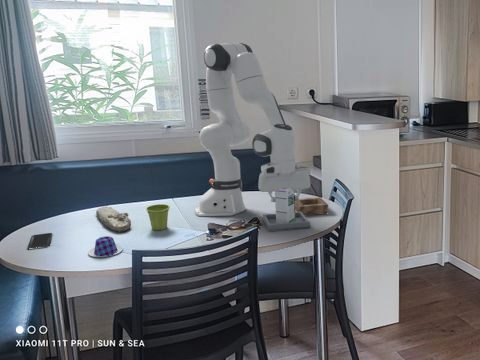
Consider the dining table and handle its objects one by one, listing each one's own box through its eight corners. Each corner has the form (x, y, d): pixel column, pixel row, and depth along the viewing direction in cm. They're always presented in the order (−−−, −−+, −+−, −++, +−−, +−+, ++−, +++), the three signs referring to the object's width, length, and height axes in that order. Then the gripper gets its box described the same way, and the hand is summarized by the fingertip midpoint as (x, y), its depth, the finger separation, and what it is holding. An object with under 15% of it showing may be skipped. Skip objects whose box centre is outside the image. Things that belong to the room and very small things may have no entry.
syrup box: (288, 225, 189) (287, 189, 186) (275, 223, 193) (274, 187, 189) (295, 221, 194) (294, 186, 190) (282, 219, 197) (281, 184, 194)
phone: (27, 248, 179) (31, 235, 193) (27, 250, 179) (32, 237, 193) (49, 244, 181) (52, 232, 195) (50, 247, 181) (53, 235, 195)
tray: (268, 231, 186) (268, 225, 185) (262, 220, 200) (262, 214, 199) (309, 228, 188) (309, 221, 187) (301, 217, 201) (301, 211, 201)
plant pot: (176, 226, 198) (174, 205, 196) (160, 233, 190) (158, 212, 188) (159, 223, 203) (157, 203, 201) (142, 229, 195) (140, 209, 193)
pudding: (109, 244, 182) (107, 230, 180) (130, 250, 174) (128, 236, 173) (81, 254, 172) (79, 240, 171) (102, 261, 165) (100, 247, 164)
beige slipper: (113, 213, 226) (92, 218, 221) (111, 202, 225) (90, 207, 220) (137, 229, 196) (113, 235, 191) (135, 216, 194) (110, 222, 190)
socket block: (300, 216, 203) (299, 206, 202) (293, 208, 215) (293, 199, 214) (328, 213, 204) (328, 204, 203) (320, 205, 216) (320, 197, 215)
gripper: (308, 163, 192) (308, 196, 195) (257, 166, 190) (258, 200, 193) (312, 166, 186) (312, 201, 189) (259, 169, 184) (260, 205, 187)
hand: (284, 200), depth 191 cm, fingers closed on syrup box, 8 cm apart
